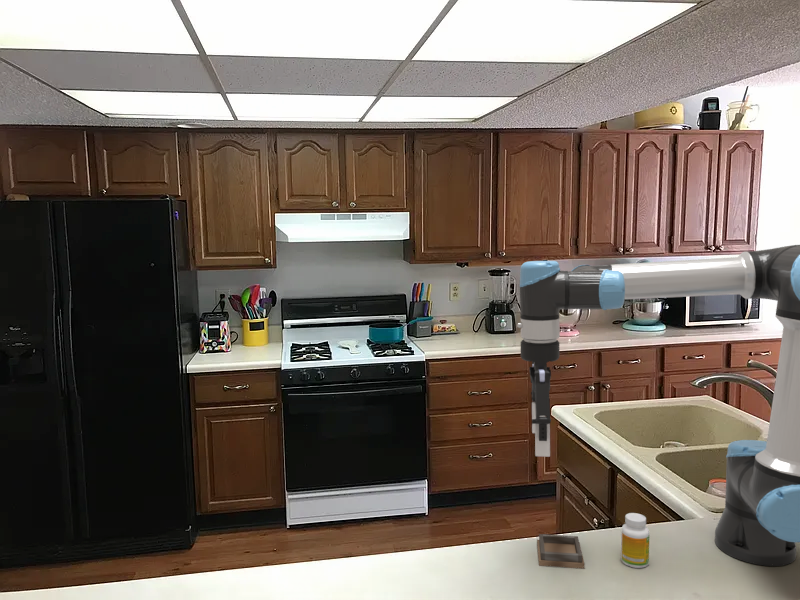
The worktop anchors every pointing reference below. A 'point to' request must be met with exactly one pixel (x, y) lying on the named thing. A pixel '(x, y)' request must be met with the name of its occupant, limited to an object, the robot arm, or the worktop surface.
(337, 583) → the worktop surface
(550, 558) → the socket board
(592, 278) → the robot arm
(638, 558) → the supplement bottle
